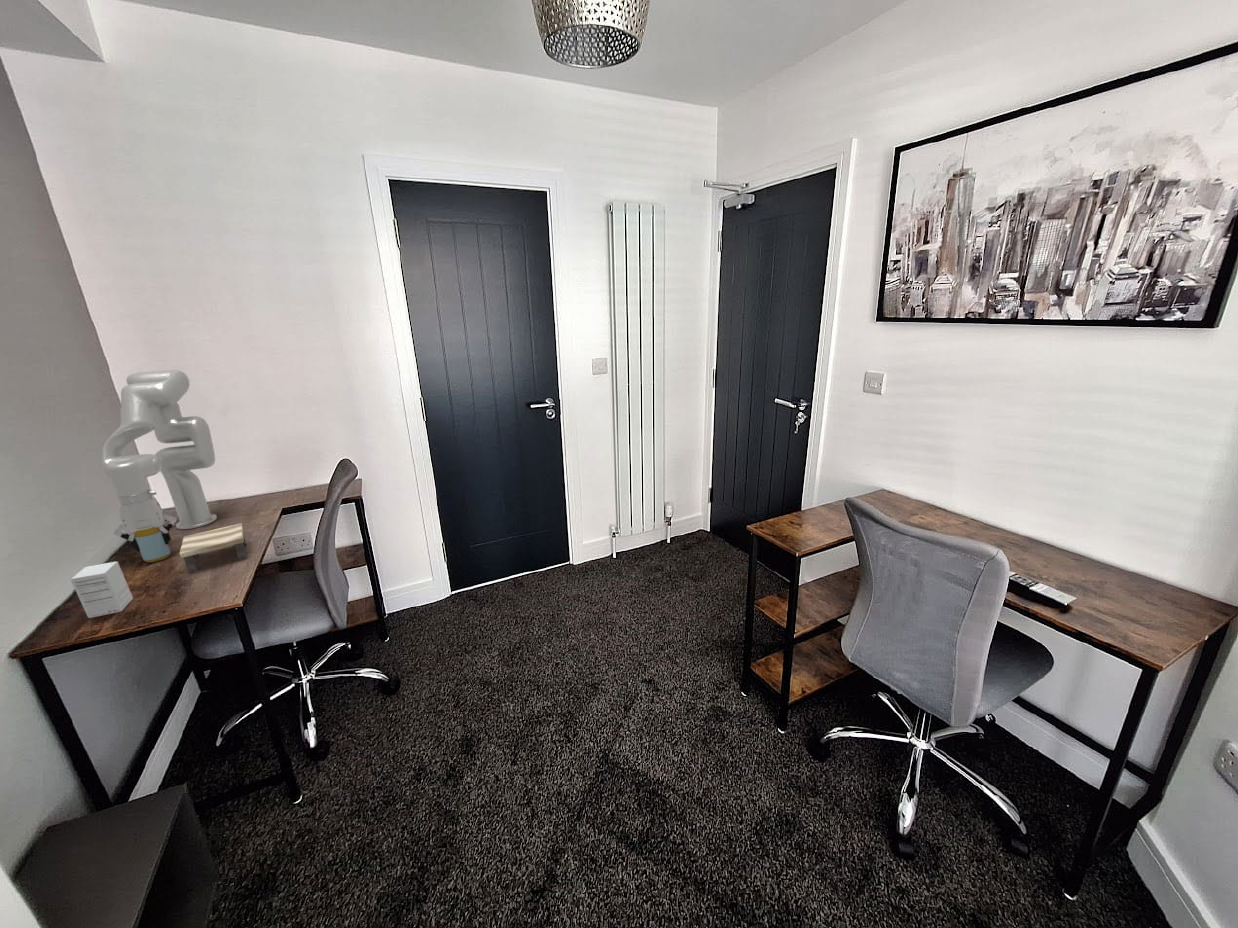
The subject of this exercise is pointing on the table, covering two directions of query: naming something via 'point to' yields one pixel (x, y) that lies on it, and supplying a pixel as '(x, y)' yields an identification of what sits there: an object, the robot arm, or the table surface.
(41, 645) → the table surface
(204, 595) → the table surface
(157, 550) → the bottle
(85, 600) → the supplement box
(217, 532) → the footstool
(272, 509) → the table surface
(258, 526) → the table surface
